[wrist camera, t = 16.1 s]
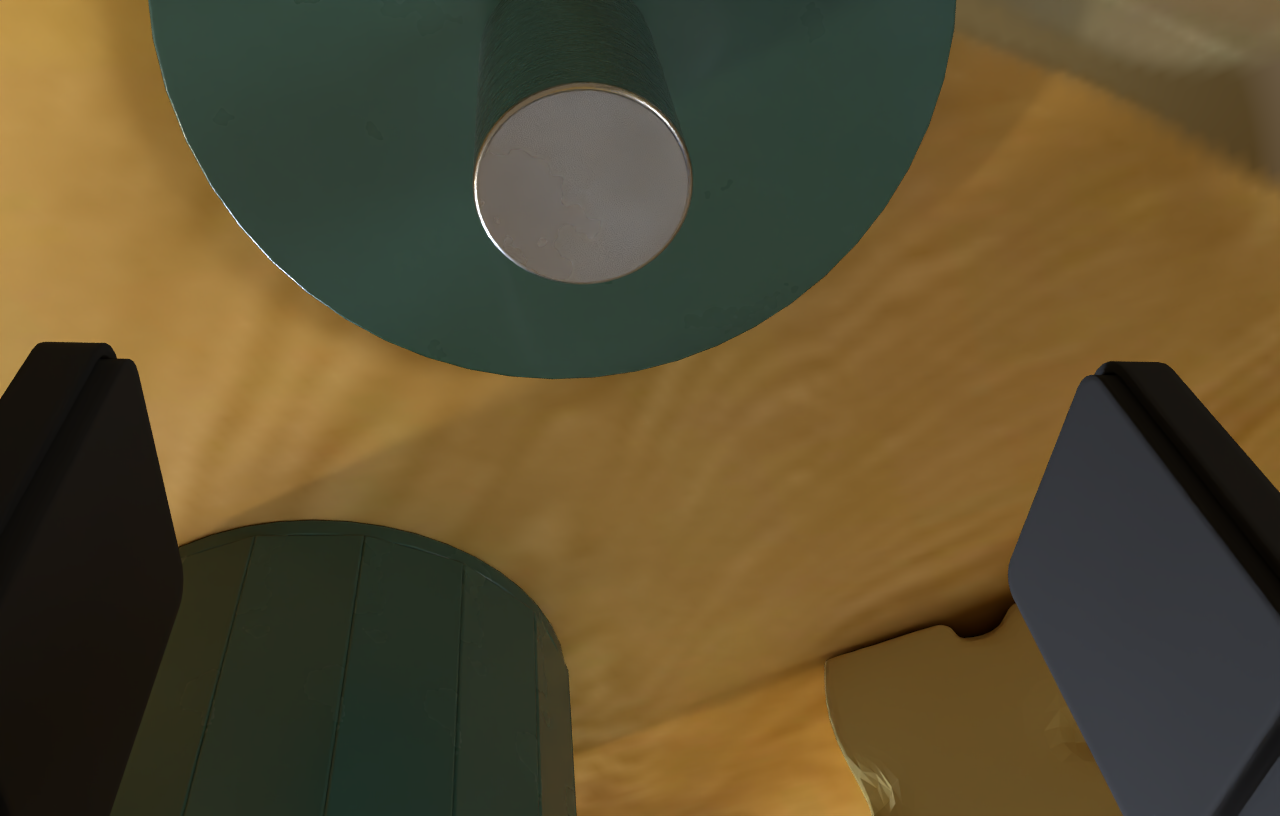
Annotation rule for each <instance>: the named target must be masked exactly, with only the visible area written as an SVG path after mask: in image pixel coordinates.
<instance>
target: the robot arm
mask: <svg viewBox="0 0 1280 816" xmlns="http://www.w3.org/2000/svg"><path fill="white" fill-rule="evenodd" d="M183 581H184V580H183V567H182V562H181V557H180V553H179V549H178V544H177V540H176V535H175V531H174V527H173V522H172V518H171V514H170V509H169V505H168V500H167V496H166V492H165V487H164V483H163V479H162V474H161V470H160V465H159V461H158V457H157V452H156V448H155V444H154V439H153V435H152V430H151V426H150V422H149V417H148V413H147V409H146V404H145V400H144V395H143V391H142V387H141V382H140V378H139V374H138V370H137V367H136V365H135V364H134V362H133V361H132V360H130V359H117V357H116V354H115V352H114V351H113V349H112V347H111V346H110V345H108V344H106V343H76V342H42V343H38V344H37V345H36V346H35V347H34V348H33V349H32V351H31V353H30V354H29V356H28V357H27V359H26V360H25V362H24V363H23V365H22V366H21V368H20V369H19V371H18V373H17V374H16V376H15V377H14V379H13V380H12V382H11V383H10V385H9V386H8V388H7V389H6V391H5V393H4V394H3V396H2V397H1V399H0V816H110V813H111V810H112V807H113V804H114V801H115V798H116V795H117V792H118V789H119V786H120V783H121V780H122V777H123V774H124V771H125V768H126V765H127V762H128V759H129V756H130V753H131V750H132V747H133V744H134V741H135V738H136V735H137V732H138V729H139V726H140V723H141V721H142V718H143V715H144V712H145V709H146V706H147V703H148V700H149V697H150V694H151V691H152V688H153V685H154V682H155V679H156V676H157V673H158V670H159V667H160V664H161V661H162V658H163V655H164V652H165V649H166V646H167V643H168V640H169V637H170V634H171V631H172V628H173V625H174V622H175V619H176V616H177V613H178V610H179V607H180V603H181V599H182V593H183ZM1008 582H1009V587H1010V591H1011V594H1012V597H1013V599H1014V601H1015V603H1016V605H1017V607H1018V609H1019V611H1020V613H1021V615H1022V617H1023V619H1024V621H1025V623H1026V625H1027V626H1028V628H1029V630H1030V632H1031V634H1032V636H1033V638H1034V640H1035V642H1036V644H1037V646H1038V648H1039V650H1040V652H1041V654H1042V656H1043V658H1044V660H1045V662H1046V664H1047V666H1048V668H1049V670H1050V672H1051V674H1052V676H1053V678H1054V680H1055V682H1056V684H1057V686H1058V688H1059V690H1060V692H1061V694H1062V696H1063V698H1064V700H1065V702H1066V704H1067V706H1068V708H1069V710H1070V712H1071V714H1072V716H1073V718H1074V720H1075V721H1076V723H1077V725H1078V727H1079V729H1080V731H1081V733H1082V735H1083V737H1084V739H1085V741H1086V743H1087V745H1088V747H1089V749H1090V751H1091V753H1092V755H1093V757H1094V759H1095V761H1096V763H1097V765H1098V767H1099V769H1100V771H1101V773H1102V775H1103V777H1104V779H1105V781H1106V783H1107V785H1108V787H1109V789H1110V791H1111V793H1112V795H1113V797H1114V799H1115V801H1116V803H1117V805H1118V807H1119V809H1120V811H1121V813H1122V815H1123V816H1280V492H1279V491H1278V490H1277V489H1276V488H1275V487H1274V486H1273V484H1272V483H1271V482H1270V481H1269V480H1268V479H1267V478H1266V476H1265V475H1264V474H1263V473H1262V472H1261V471H1260V469H1259V468H1258V467H1257V466H1256V465H1255V464H1254V463H1253V461H1252V460H1251V459H1250V458H1249V457H1248V456H1247V454H1246V453H1245V452H1244V451H1243V450H1242V449H1241V448H1240V446H1239V445H1238V444H1237V443H1236V442H1235V441H1234V439H1233V438H1232V437H1231V436H1230V435H1229V434H1228V433H1227V431H1226V430H1225V429H1224V428H1223V427H1222V426H1221V424H1220V423H1219V422H1218V421H1217V420H1216V419H1215V418H1214V416H1213V415H1212V414H1211V413H1210V412H1209V411H1208V409H1207V408H1206V407H1205V406H1204V405H1203V404H1202V403H1201V401H1200V400H1199V399H1198V398H1197V397H1196V396H1195V394H1194V393H1193V392H1192V391H1191V390H1190V389H1189V388H1188V386H1187V385H1186V384H1185V383H1184V382H1183V381H1182V379H1181V378H1180V377H1179V376H1178V375H1177V374H1176V373H1175V371H1174V370H1173V369H1172V368H1170V367H1169V366H1168V365H1167V364H1164V363H1159V362H1119V361H1110V362H1107V363H1104V364H1102V365H1101V366H1100V367H1099V368H1098V369H1097V371H1096V373H1095V374H1094V375H1089V376H1086V377H1085V378H1084V379H1083V380H1082V381H1081V383H1080V385H1079V386H1078V388H1077V391H1076V394H1075V396H1074V399H1073V401H1072V404H1071V406H1070V409H1069V411H1068V414H1067V416H1066V419H1065V422H1064V424H1063V427H1062V429H1061V432H1060V434H1059V437H1058V439H1057V442H1056V445H1055V447H1054V450H1053V452H1052V455H1051V457H1050V460H1049V462H1048V465H1047V468H1046V470H1045V473H1044V475H1043V478H1042V480H1041V483H1040V485H1039V488H1038V490H1037V493H1036V496H1035V498H1034V501H1033V503H1032V506H1031V508H1030V511H1029V513H1028V516H1027V519H1026V521H1025V524H1024V526H1023V529H1022V531H1021V534H1020V536H1019V539H1018V541H1017V544H1016V547H1015V549H1014V552H1013V554H1012V557H1011V559H1010V563H1009V569H1008Z"/></svg>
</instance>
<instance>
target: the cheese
mask: <svg viewBox="0 0 1280 816" xmlns="http://www.w3.org/2000/svg"><path fill="white" fill-rule="evenodd" d="M824 671H825V695H826V704H827V708H828V713H829V718H830V722H831V725H832V728H833V731H834V734H835V737H836V740H837V742H838V744H839V746H840V749H841V751H842V753H843V755H844V757H845V759H846V762H847V764H848V766H849V767H850V769H851V771H852V773H853V775H854V777H855V779H856V781H857V782H858V784H859V786H860V788H861V790H862V793H863V795H864V797H865V799H866V801H867V803H868V805H869V808H870V811H871V815H872V816H1123V815H1122V813H1121V811H1120V809H1119V807H1118V805H1117V803H1116V801H1115V799H1114V797H1113V795H1112V793H1111V791H1110V789H1109V787H1108V785H1107V783H1106V781H1105V779H1104V777H1103V775H1102V773H1101V771H1100V769H1099V767H1098V765H1097V763H1096V761H1095V759H1094V757H1093V755H1092V753H1091V751H1090V749H1089V747H1088V745H1087V743H1086V741H1085V739H1084V737H1083V735H1082V733H1081V731H1080V729H1079V727H1078V725H1077V723H1076V721H1075V720H1074V718H1073V716H1072V714H1071V712H1070V710H1069V708H1068V706H1067V704H1066V702H1065V700H1064V698H1063V696H1062V694H1061V692H1060V690H1059V688H1058V686H1057V684H1056V682H1055V680H1054V678H1053V676H1052V674H1051V672H1050V670H1049V668H1048V666H1047V664H1046V662H1045V660H1044V658H1043V656H1042V654H1041V652H1040V650H1039V648H1038V646H1037V644H1036V642H1035V640H1034V638H1033V636H1032V634H1031V632H1030V630H1029V628H1028V626H1027V625H1026V623H1025V621H1024V619H1023V617H1022V615H1021V613H1020V611H1019V609H1018V607H1017V605H1016V603H1015V604H1013V605H1012V606H1011V607H1010V608H1009V610H1008V611H1007V614H1006V615H1005V617H1004V618H1003V620H1002V622H1001V624H1000V625H999V626H998V627H996V628H995V629H994V630H993V631H991V632H989V633H986V634H984V635H981V636H976V637H971V638H961V637H959V636H958V635H957V634H956V633H955V632H954V631H953V630H952V629H951V628H950V627H948V626H944V625H936V626H933V627H929V628H926V629H923V630H919V631H916V632H913V633H910V634H907V635H904V636H901V637H897V638H894V639H891V640H888V641H885V642H882V643H879V644H876V645H873V646H869V647H866V648H863V649H859V650H857V651H854V652H851V653H847V654H844V655H840V656H837V657H834V658H831V659H829V660H827V661H826V662H825V665H824Z"/></svg>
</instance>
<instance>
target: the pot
mask: <svg viewBox="0 0 1280 816" xmlns="http://www.w3.org/2000/svg"><path fill="white" fill-rule="evenodd" d="M178 549H179V553H180V557H181V562H182V567H183V580H184V581H183V593H182V599H181V603H180V607H179V610H178V613H177V616H176V619H175V622H174V625H173V628H172V631H171V634H170V637H169V640H168V643H167V646H166V649H165V652H164V655H163V658H162V661H161V664H160V667H159V670H158V673H157V676H156V679H155V682H154V685H153V688H152V691H151V694H150V697H149V700H148V703H147V706H146V709H145V712H144V715H143V718H142V721H141V723H140V726H139V729H138V732H137V735H136V738H135V741H134V744H133V747H132V750H131V753H130V756H129V759H128V762H127V765H126V768H125V771H124V774H123V777H122V780H121V783H120V786H119V789H118V792H117V795H116V798H115V801H114V804H113V807H112V810H111V813H110V816H577V813H576V796H575V778H574V761H573V743H572V726H571V708H570V691H569V673H568V669H567V666H566V664H565V662H564V658H563V654H562V650H561V646H560V643H559V641H558V639H557V636H556V634H555V632H554V630H553V628H552V626H551V624H550V623H549V621H548V620H547V618H546V617H545V615H544V614H543V613H542V611H541V610H540V608H539V607H538V606H537V605H536V604H535V602H534V601H533V600H532V599H531V598H530V597H529V596H528V595H527V594H526V593H525V592H524V591H523V590H522V589H521V588H520V587H519V586H517V585H516V584H515V583H514V582H512V581H511V580H510V579H508V578H507V577H506V576H505V575H503V574H502V573H501V572H499V571H498V570H496V569H494V568H493V567H491V566H489V565H488V564H486V563H484V562H483V561H481V560H479V559H478V558H476V557H474V556H472V555H470V554H468V553H465V552H463V551H461V550H459V549H457V548H454V547H452V546H450V545H448V544H445V543H442V542H439V541H436V540H433V539H430V538H427V537H424V536H421V535H418V534H415V533H411V532H406V531H402V530H398V529H393V528H389V527H385V526H378V525H371V524H363V523H356V522H348V521H323V520H305V521H286V522H274V523H267V524H261V525H254V526H247V527H242V528H238V529H234V530H230V531H226V532H222V533H218V534H214V535H211V536H208V537H205V538H203V539H200V540H197V541H195V542H192V543H189V544H187V545H184V546H181V547H179V548H178Z"/></svg>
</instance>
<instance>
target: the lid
mask: <svg viewBox="0 0 1280 816" xmlns="http://www.w3.org/2000/svg"><path fill="white" fill-rule="evenodd" d="M148 2H149V11H150V19H151V28H152V36H153V41H154V45H155V49H156V53H157V57H158V61H159V65H160V69H161V73H162V77H163V81H164V84H165V88H166V92H167V94H168V97H169V99H170V102H171V104H172V107H173V109H174V112H175V114H176V117H177V120H178V122H179V125H180V127H181V130H182V132H183V135H184V137H185V140H186V142H187V143H188V145H189V147H190V149H191V151H192V153H193V154H194V156H195V158H196V160H197V162H198V164H199V165H200V167H201V169H202V171H203V173H204V175H205V176H206V178H207V180H208V182H209V184H210V185H211V187H212V188H213V190H214V191H215V192H216V194H217V195H218V197H219V198H220V199H221V201H222V202H223V204H224V205H225V206H226V208H227V209H228V211H229V212H230V213H231V215H232V216H233V218H234V219H235V220H236V222H237V223H238V225H239V226H240V227H241V228H242V229H243V230H244V232H245V233H246V234H247V235H248V236H249V237H250V238H251V239H252V240H253V241H254V243H255V244H256V245H257V246H258V247H259V248H260V249H261V250H262V251H263V252H264V254H265V255H266V256H267V257H268V258H269V259H270V260H271V261H272V262H273V263H274V264H275V265H276V266H277V267H279V268H280V269H281V270H282V271H283V272H284V273H285V274H287V275H288V276H289V277H290V278H291V279H292V280H293V281H295V282H296V283H297V284H298V285H299V286H300V287H301V288H303V289H304V290H305V291H306V292H307V293H309V294H310V295H312V296H313V297H314V298H316V299H317V300H319V301H320V302H322V303H323V304H324V305H326V306H327V307H329V308H330V309H332V310H333V311H335V312H336V313H337V314H339V315H340V316H342V317H343V318H345V319H346V320H348V321H350V322H352V323H354V324H356V325H358V326H359V327H361V328H363V329H365V330H367V331H369V332H370V333H372V334H374V335H376V336H378V337H380V338H382V339H383V340H385V341H388V342H390V343H393V344H395V345H398V346H400V347H403V348H405V349H408V350H410V351H412V352H415V353H417V354H420V355H422V356H425V357H428V358H431V359H435V360H438V361H442V362H445V363H449V364H452V365H456V366H459V367H463V368H466V369H471V370H477V371H483V372H488V373H494V374H500V375H506V376H514V377H529V378H544V379H566V378H591V377H601V376H607V375H614V374H621V373H628V372H635V371H639V370H643V369H647V368H651V367H655V366H659V365H663V364H667V363H670V362H674V361H678V360H681V359H683V358H686V357H689V356H691V355H694V354H697V353H699V352H702V351H705V350H707V349H710V348H713V347H715V346H718V345H720V344H722V343H724V342H726V341H728V340H730V339H732V338H734V337H736V336H738V335H740V334H742V333H744V332H746V331H748V330H750V329H752V328H754V327H755V326H757V325H759V324H760V323H762V322H763V321H765V320H766V319H768V318H769V317H771V316H773V315H774V314H776V313H777V312H779V311H780V310H782V309H783V308H785V307H786V306H788V305H790V304H791V303H792V302H794V301H795V300H796V299H797V298H799V297H800V296H801V295H802V294H803V293H805V292H806V291H807V290H808V289H810V288H811V287H812V286H813V285H815V284H816V283H817V282H818V281H819V280H821V279H822V278H823V277H824V276H826V275H827V274H828V272H829V271H830V270H831V269H832V268H833V267H834V266H835V265H836V264H837V263H838V262H839V261H840V260H841V259H842V258H843V257H844V256H845V255H846V254H847V253H848V252H849V251H850V250H851V249H852V248H853V247H854V246H855V245H856V244H857V243H858V242H859V240H860V239H861V238H862V236H863V235H864V234H865V233H866V231H867V230H868V229H869V228H870V226H871V225H872V224H873V222H874V221H875V220H876V219H877V217H878V216H879V215H880V213H881V212H882V211H883V210H884V208H885V207H886V205H887V204H888V202H889V200H890V199H891V197H892V195H893V194H894V192H895V191H896V189H897V187H898V186H899V184H900V182H901V181H902V179H903V178H904V176H905V174H906V173H907V171H908V169H909V167H910V165H911V163H912V161H913V159H914V157H915V155H916V152H917V150H918V148H919V146H920V144H921V142H922V139H923V137H924V135H925V133H926V131H927V129H928V127H929V124H930V121H931V118H932V115H933V112H934V109H935V106H936V103H937V99H938V96H939V93H940V90H941V87H942V84H943V81H944V78H945V73H946V67H947V62H948V57H949V52H950V47H951V42H952V37H953V32H954V24H955V10H956V0H148Z"/></svg>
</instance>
